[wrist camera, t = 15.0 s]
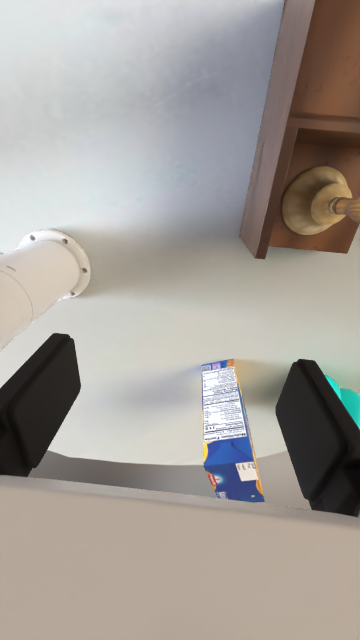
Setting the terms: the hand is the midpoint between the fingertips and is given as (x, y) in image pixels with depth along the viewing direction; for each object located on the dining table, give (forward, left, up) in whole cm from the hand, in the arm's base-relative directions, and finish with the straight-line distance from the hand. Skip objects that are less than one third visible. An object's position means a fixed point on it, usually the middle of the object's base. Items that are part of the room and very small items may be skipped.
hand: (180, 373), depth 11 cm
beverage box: (+10, -31, -34) cm, 47 cm away
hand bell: (+15, +6, -30) cm, 34 cm away
